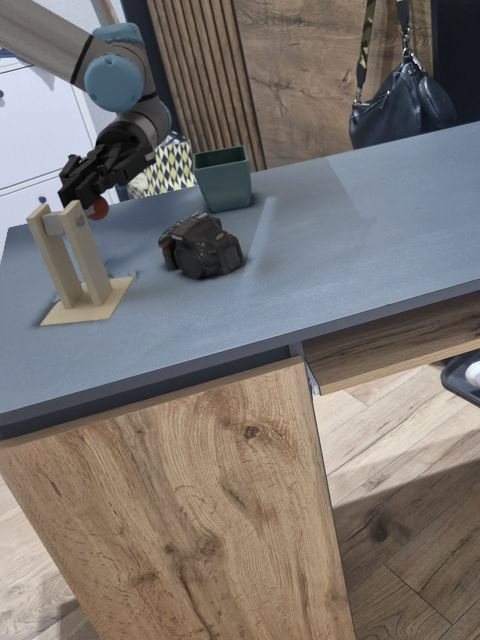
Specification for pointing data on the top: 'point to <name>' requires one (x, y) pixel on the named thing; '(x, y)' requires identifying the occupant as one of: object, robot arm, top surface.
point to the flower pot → (224, 177)
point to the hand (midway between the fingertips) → (72, 200)
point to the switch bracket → (75, 297)
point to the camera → (200, 247)
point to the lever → (93, 213)
